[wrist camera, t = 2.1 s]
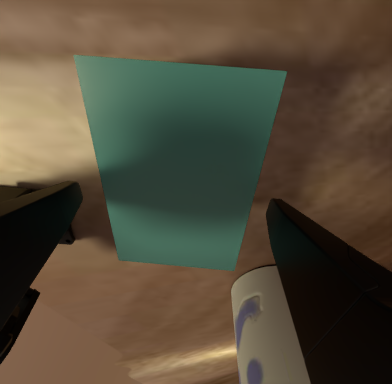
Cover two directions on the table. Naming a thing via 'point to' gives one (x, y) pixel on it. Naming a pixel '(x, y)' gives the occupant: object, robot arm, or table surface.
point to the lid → (178, 154)
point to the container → (265, 331)
